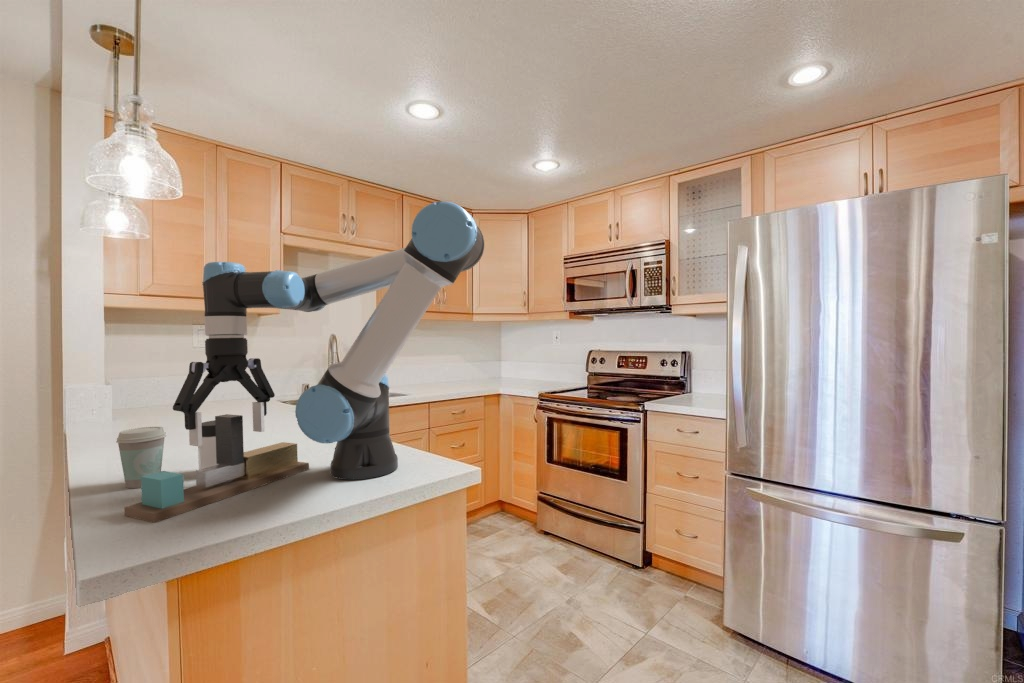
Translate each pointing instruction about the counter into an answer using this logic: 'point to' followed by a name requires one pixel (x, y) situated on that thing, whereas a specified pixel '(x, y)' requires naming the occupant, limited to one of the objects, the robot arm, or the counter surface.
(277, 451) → the brass sleeve
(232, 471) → the steel bar
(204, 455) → the jar
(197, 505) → the walnut board
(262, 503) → the counter surface
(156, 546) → the counter surface
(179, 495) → the teal socket
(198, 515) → the counter surface
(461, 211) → the robot arm
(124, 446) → the coffee cup
